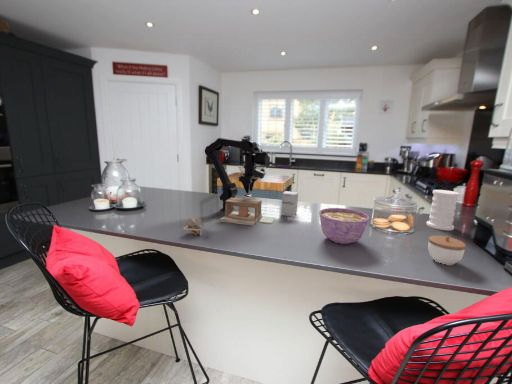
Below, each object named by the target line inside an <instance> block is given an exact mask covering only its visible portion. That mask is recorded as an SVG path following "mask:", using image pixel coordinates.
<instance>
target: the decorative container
mask: <svg viewBox="0 0 512 384" xmlns="http://www.w3.org/2000/svg"><path fill="white" fill-rule="evenodd" d="M432 194H433V196H432V198H431V199H432V203H431V205H430V206H431V208H430V210H429V212H430V214H429V216H428V218H429V220H427V221H426V226H428V227H429V228H432V229H435V230H441V231H453V230H454V229H455V226H454V225H453V222H454V221H455V220H454V217H455V215H456V213H455V211H456V208H457V203H458V197H460V192H457V191H453V190H448V189H445V190H444V189H432Z"/></svg>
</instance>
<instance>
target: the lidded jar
mask: <svg viewBox="0 0 512 384" xmlns="http://www.w3.org/2000/svg"><path fill="white" fill-rule="evenodd" d="M427 247H428V248H427V249H428V253H429V255H430V257H431V258H432V260H433V259H434V260H435V262H436V263H438V262H439V263H438V264H440V263H442V264H441V265H444V264H446V266H453V265H454V264H457V263H458V262H460V261H461V259H462V258H463V257H464V254H465V250H466V248H467V245H466V243H465V242H463V241H461V240H459V239H456V238H453V237H450V236H447V235H446V236H444V235H430V236H429V237H428V246H427ZM434 260H433V261H434ZM452 264H453V265H452Z"/></svg>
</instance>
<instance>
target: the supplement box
mask: <svg viewBox="0 0 512 384" xmlns="http://www.w3.org/2000/svg"><path fill="white" fill-rule="evenodd" d="M281 197H282V198H281V213H280V215H281V216H287V217H292V216H294V217H295V216H296V215H297V214H296V213H297V211H298V199H299V192H297V191H290V190H289V191H288V190H285V191H284V192H282V196H281ZM295 214H296V215H295Z"/></svg>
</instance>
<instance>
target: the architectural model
mask: <svg viewBox="0 0 512 384" xmlns="http://www.w3.org/2000/svg"><path fill="white" fill-rule="evenodd" d="M202 229H203V228H202V219H201V218H195V217H188V224H187V226H186V225H185V226H184V228H183V229H182V230H183V231H184V230H187V231H188V233H189V234H190V235H191V234H194V235H195V236H198V235H199V236H202V231H203V230H202Z"/></svg>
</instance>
